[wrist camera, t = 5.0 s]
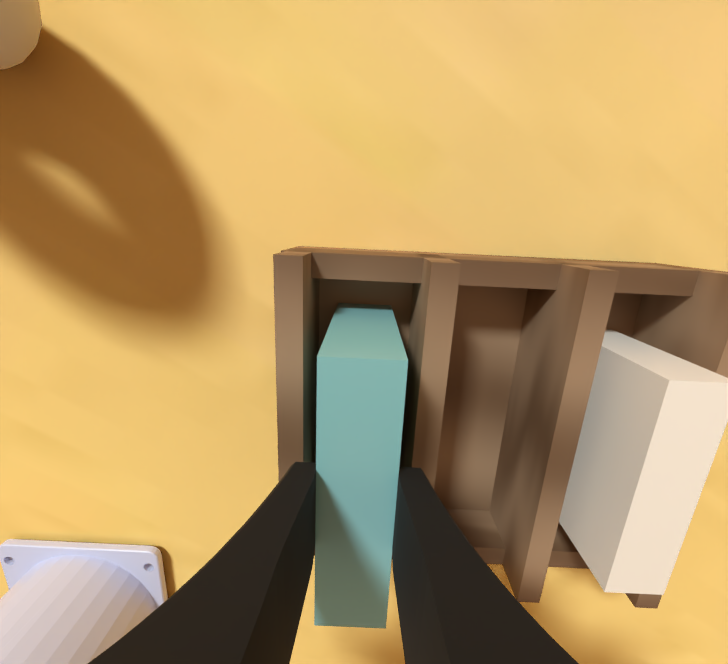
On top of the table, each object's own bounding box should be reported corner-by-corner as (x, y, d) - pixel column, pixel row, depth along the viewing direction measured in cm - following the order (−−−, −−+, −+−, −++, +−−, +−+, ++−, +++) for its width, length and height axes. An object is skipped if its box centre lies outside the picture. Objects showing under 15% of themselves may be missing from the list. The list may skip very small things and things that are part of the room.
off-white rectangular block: (573, 482, 16) (663, 594, 11) (532, 480, 16) (604, 592, 11) (611, 329, 14) (741, 383, 9) (564, 327, 14) (669, 379, 9)
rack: (588, 513, 17) (661, 608, 13) (300, 499, 17) (277, 590, 13) (656, 263, 14) (783, 278, 10) (298, 246, 14) (267, 254, 10)
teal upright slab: (379, 483, 16) (385, 628, 10) (333, 480, 16) (314, 625, 10) (391, 305, 14) (408, 360, 8) (338, 302, 14) (317, 356, 8)
